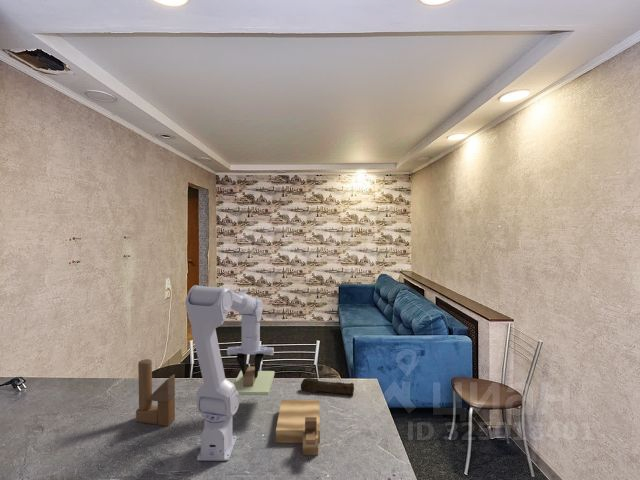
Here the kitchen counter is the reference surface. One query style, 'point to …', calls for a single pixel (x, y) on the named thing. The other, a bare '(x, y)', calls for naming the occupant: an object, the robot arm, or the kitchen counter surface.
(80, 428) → the kitchen counter surface
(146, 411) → the wooden block
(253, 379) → the lid
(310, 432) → the l-shaped wooden piece
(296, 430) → the wooden slab
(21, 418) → the kitchen counter surface
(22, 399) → the kitchen counter surface
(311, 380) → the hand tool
